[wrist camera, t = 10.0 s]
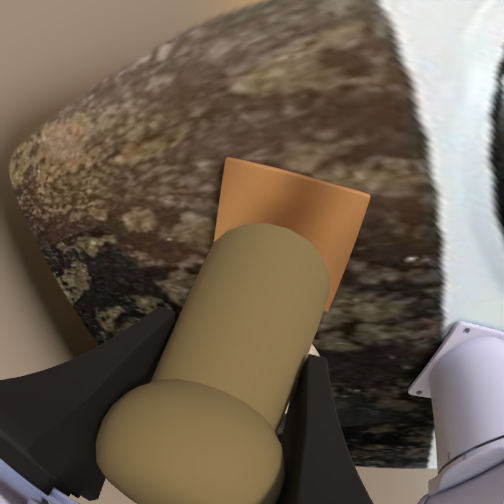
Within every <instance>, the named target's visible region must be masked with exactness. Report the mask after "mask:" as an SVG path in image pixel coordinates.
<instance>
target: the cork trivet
mask: <svg viewBox="0 0 504 504" xmlns="http://www.w3.org/2000/svg"><path fill="white" fill-rule="evenodd" d="M369 200H370V194H367V193H364V192H361V191H357V190H354V189H351V188H348V187H344V186H341V185H337V184H334V183H330V182H327V181H323V180H320V179H316V178H313V177H309V176H305V175H302V174H298V173H294V172H290V171H286V170H282V169H278V168H274V167H270V166H266V165H262V164H258V163H254V162H249V161H245V160H241V159H236V158H232V157H227V158H226V159H225V165H224V171H223V178H222V185H221V192H220V199H219V206H218V213H217V221H216V228H215V236H214V242H215V241H216V240H217V239H218V238H219V237H221V236H222V235H223V234H224V233H225V232H226V231H228V230H230V229H233V228H236V227H239V226H241V225H244V224H254V223H269V224H273V225H277V226H280V227H284V228H288V229H290V230H292V231H293V232H295V233H297V234H298V235H300V236H302V237H303V238H305V239H307V240H308V241H309V242H310V243H311V244H312V245H313V247H314V248H315V249H316V250H317V251H318V252H319V253H320V255H321V256H322V257H323V260H324V262H325V264H326V267H327V269H328V272H329V274H330V293H329V297H328V300H327V302H326V305H325V308H324V311H325V312H328V311H329V308H330V306H331V303H332V301H333V298H334V296H335V293H336V291H337V288H338V286H339V283H340V281H341V278H342V276H343V273H344V271H345V268H346V265H347V263H348V260H349V257H350V255H351V252H352V249H353V246H354V244H355V241H356V238H357V235H358V233H359V230H360V227H361V224H362V221H363V218H364V215H365V212H366V209H367V206H368V203H369Z"/></svg>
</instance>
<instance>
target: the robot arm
mask: <svg viewBox="0 0 504 504" xmlns="http://www.w3.org/2000/svg"><path fill="white" fill-rule="evenodd" d="M174 326H175V312H174V311H172V310H169V309H166V308H163V307H161V306H160V307H158V308H157V309H155V310H154V311H152V312H151V313H149V314H148V315H146V316H145V317H144V318H142V319H141V320H139V321H138V322H136V323H135V324H133V325H132V326H130V327H129V328H127V329H126V330H124V331H123V332H121V333H120V334H118V335H116V336H115V337H113V338H112V339H110V340H108V341H106V342H105V343H103V344H101V345H99V346H98V347H96V348H94V349H92V350H91V351H88V352H86V353H85V354H82V355H81V356H79V357H76V358H74V359H72V360H70V361H67V362H65V363H62V364H60V365H57V366H54V367H52V368H49V369H46V370H43V371H40V372H36V373H32V374H29V375H25V376H21V377H17V378H10V379H5V380H0V504H49V503H48V501H49V502H50V503H52V504H79V503H77V502H76V501H74V500H72V499H71V498H69V496H70V494H72V495H74V496H75V497H77V498H79V497H80V495H81V496H82V497H84V498H86V499H87V500H89V501H91V500H96V499H98V498H99V495H100V492H101V489H102V487H103V484H104V481H105V478H106V477H105V476H104V475H103V473H102V471H101V470H100V468H99V466H98V465H97V463H96V446H95V445H96V439H97V435H98V432H99V429H100V426H101V422H102V420H103V418H104V417H105V415H106V414H107V412H108V411H109V409H110V408H111V406H112V405H113V404H114V403H115V402H116V401H118V400H119V399H120V398H121V397H122V396H124V395H125V394H126V393H127V392H129V391H131V390H133V389H135V388H137V387H139V386H142V385H145V384H148V383H150V382H151V379H152V377H153V375H154V372H155V370H156V368H157V365H158V363H159V361H160V358H161V356H162V354H163V351H164V349H165V347H166V345H167V342H168V340H169V338H170V336H171V333H172V331H173V329H174ZM466 328H467V329H466ZM464 329H466V330H464ZM408 393H409V394H410V395H415V396H421V397H427V398H431V401H432V408H433V417H434V426H435V437H436V450H437V466H438V476H436V477H435V478H433V479H431V480H429V493H428V494H426V495H425V496H423V497H422V498H421V499H420V501H419V502H418V503H417V504H504V332H502V331H498V330H495V329H491V328H487V327H484V326H480V325H476V324H473V323H469V322H465V321H459V322H457V323H456V324H455V325H454V326H453V328H452V329H451V331H450V332H449V334H448V335H447V337H446V338H445V340H444V341H443V343H442V344H441V346H440V347H439V348H438V350H437V351H436V353H435V354H434V355H433V357H432V358H431V360H430V361H429V362H428V364H427V365H426V366H425V368H424V369H423V370H422V372H421V373H420V374H419V375H418V377H417V378H416V379H415V380H414V382H413V383H412V384H411V385H410V387H409V388H408ZM281 446H282V450H283V456H284V472H285V478H284V482H283V486H282V491H281V495H280V497H279V498H278V500H277V502H276V503H275V504H373V502H372V500H371V499H370V497H369V495H368V493H367V491H366V489H365V487H364V485H363V483H362V481H361V479H360V477H359V475H358V473H357V470H356V468H355V466H354V463H353V461H352V458H351V456H350V453H349V450H348V448H347V445H346V442H345V439H344V436H343V432H342V429H341V426H340V422H339V419H338V415H337V411H336V407H335V403H334V398H333V394H332V388H331V383H330V377H329V371H328V362H327V359H326V358H324V357H320V356H316V355H312V354H309V355H308V357H307V359H306V361H305V363H304V366H303V369H302V372H301V374H300V377H299V379H298V382H297V384H296V387H295V389H294V392H293V394H292V397H291V399H290V402H289V405H288V409H287V414H286V420H285V426H284V432H283V438H282V444H281Z"/></svg>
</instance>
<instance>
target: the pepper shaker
mask: <svg viewBox="0 0 504 504" xmlns="http://www.w3.org/2000/svg"><path fill="white" fill-rule="evenodd" d="M329 293H330V274H329V272H328V269H327V267H326V264H325V262H324V260H323V257H322V256H321V255H320V253H319V252H318V251H317V250H316V249H315V248H314V247H313V245H312V244H311V243H310V242H309V241H308V240H307V239H305V238H303V237H302V236H300V235H298V234H297V233H295V232H293V231H292V230H290V229H288V228H284V227H280V226H277V225H273V224H269V223H254V224H244V225H241V226H239V227H236V228H233V229H230V230H228V231H226V232H225V233H224V234H223V235H222V236H221V237H219V238H218V239H217V240H216V241H215V242H214V243H213V245H212V247H211V249H210V251H209V253H208V255H207V257H206V259H205V261H204V263H203V265H202V267H201V269H200V272H199V274H198V276H197V278H196V280H195V282H194V285H193V287H192V289H191V291H190V293H189V295H188V298H187V300H186V302H185V304H184V306H183V309H182V311H181V313H180V315H179V318H178V320H177V322H176V324H175V326H174V329H173V331H172V333H171V336H170V338H169V340H168V342H167V345H166V347H165V349H164V351H163V354H162V356H161V358H160V361H159V363H158V365H157V368H156V370H155V372H154V375H153V377H152V379H151V382H150V383H148V384H145V385H142V386H139V387H137V388H135V389H133V390H131V391H129V392H127V393H126V394H125V395H124V396H122V397H121V398H120V399H119V400H118V401H116V402H115V403H114V404H113V405H112V406H111V408H110V409H109V411H108V412H107V414H106V415H105V417H104V418H103V420H102V422H101V426H100V429H99V432H98V435H97V439H96V445H95V446H96V463H97V465H98V466H99V468H100V470H101V471H102V473H103V475H104V476H105V477H106V479H107V480H108V481H109V482H110V483H111V484H113V485H114V486H115V487H116V488H117V489H119V491H121V492H122V493H123V494H124V495H126V496H127V497H128V498H129V499H131V500H132V501H134V502H135V503H137V504H275V503H276V502H277V500H278V498H279V497H280V495H281V491H282V486H283V482H284V478H285V472H284V456H283V450H282V446H281V444H280V442H279V440H278V438H277V436H276V432H277V430H278V428H279V425H280V423H281V421H282V418H283V416H284V414H285V411H286V409H287V406H288V404H289V402H290V399H291V397H292V394H293V392H294V389H295V387H296V384H297V382H298V379H299V377H300V374H301V372H302V369H303V366H304V363H305V361H306V359H307V356H308V353H309V351H310V348H311V345H312V342H313V340H314V337H315V334H316V331H317V329H318V326H319V323H320V320H321V317H322V314H323V311H324V308H325V305H326V302H327V300H328V297H329Z"/></svg>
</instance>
